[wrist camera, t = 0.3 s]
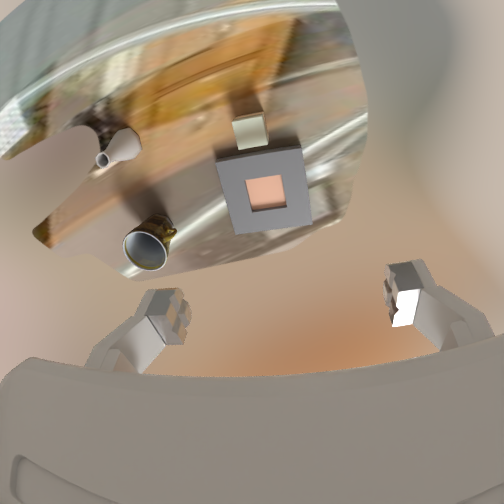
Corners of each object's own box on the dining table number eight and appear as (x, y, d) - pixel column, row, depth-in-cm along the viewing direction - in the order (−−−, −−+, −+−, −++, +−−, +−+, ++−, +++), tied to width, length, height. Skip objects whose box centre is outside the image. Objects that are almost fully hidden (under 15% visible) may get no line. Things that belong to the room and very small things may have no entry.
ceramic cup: (157, 250, 69) (142, 276, 61) (132, 218, 64) (113, 242, 56) (199, 229, 65) (187, 256, 57) (174, 193, 60) (157, 216, 52)
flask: (122, 165, 57) (99, 184, 49) (106, 138, 53) (80, 153, 45) (148, 150, 55) (126, 168, 47) (131, 121, 51) (106, 134, 43)
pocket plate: (217, 159, 55) (215, 162, 53) (300, 144, 52) (301, 148, 50) (237, 228, 64) (235, 234, 62) (311, 218, 61) (312, 224, 59)
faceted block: (236, 116, 50) (231, 122, 45) (263, 111, 49) (261, 116, 44) (242, 141, 52) (238, 149, 48) (269, 136, 51) (267, 144, 47)
